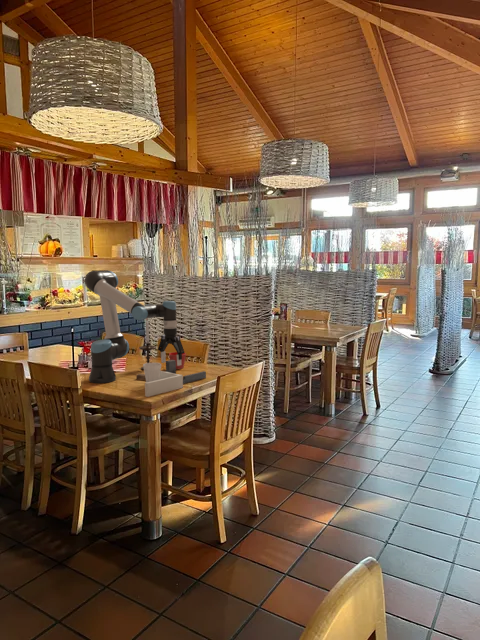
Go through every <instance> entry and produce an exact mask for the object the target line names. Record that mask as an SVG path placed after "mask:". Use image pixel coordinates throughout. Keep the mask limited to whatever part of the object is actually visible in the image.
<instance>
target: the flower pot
mask: <svg viewBox="0 0 480 640" xmlns="http://www.w3.org/2000/svg"><path fill="white" fill-rule="evenodd" d="M177 354H178V353H177V351H176V352H175V351H173V352H169V354H168V357H169V360H176V370H179V369H181V370H182V369H184V368H185V367H184V366H185V362H186V355H187V353H186V352H184V353H182V360H181V364H182V365H179V366H177Z"/></svg>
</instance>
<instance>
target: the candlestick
mask: <svg viewBox="0 0 480 640" xmlns="http://www.w3.org/2000/svg"><path fill="white" fill-rule="evenodd" d="M148 319H149V318H148ZM148 319H146V322H145V341H146V342H145V345H143V346H139V347H138V348H139V350H141V351H145V352H146V357H145V359H146V360H145V361H146V362H145V363H151V360H150V358H151V356H150V351H152V350H153V351H154V350H156V349H157V346H156V345H150V327H149V326H150V324H149V323H150V322H149V321H148ZM140 369H141V370H142V371H144V368H143V366H141V368H140Z"/></svg>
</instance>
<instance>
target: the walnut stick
mask: <svg viewBox="0 0 480 640" xmlns="http://www.w3.org/2000/svg"><path fill="white" fill-rule="evenodd" d="M135 377H136V378H135V379H136V380H137V381H138V380H139V381H140V380H141V381H146V378H145V373H143V374H142V373H137V374H136V376H135Z"/></svg>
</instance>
